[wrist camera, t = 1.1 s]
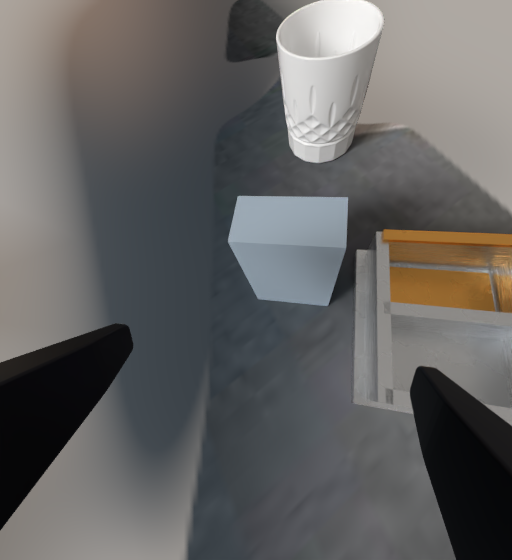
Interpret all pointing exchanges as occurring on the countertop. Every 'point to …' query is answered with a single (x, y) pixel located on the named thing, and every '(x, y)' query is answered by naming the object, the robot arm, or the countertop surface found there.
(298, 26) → the white cup
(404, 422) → the countertop surface
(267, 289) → the blue-grey rectangular block
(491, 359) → the rack
